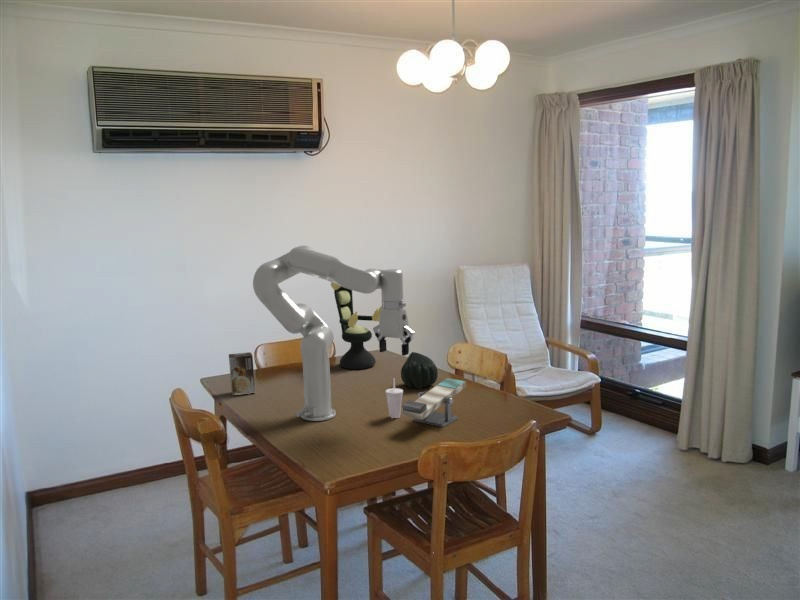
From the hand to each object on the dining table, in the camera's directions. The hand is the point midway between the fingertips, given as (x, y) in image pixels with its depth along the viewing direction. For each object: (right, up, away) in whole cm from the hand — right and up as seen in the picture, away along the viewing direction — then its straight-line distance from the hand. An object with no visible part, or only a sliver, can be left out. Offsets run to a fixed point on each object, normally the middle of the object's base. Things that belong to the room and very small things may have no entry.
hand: (394, 353), depth 233 cm
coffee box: (-62, -19, +36) cm, 74 cm away
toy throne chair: (-19, -12, +76) cm, 80 cm away
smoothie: (0, -23, +4) cm, 24 cm away
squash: (+10, -17, +41) cm, 45 cm away
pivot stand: (+15, -23, 0) cm, 28 cm away
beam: (+14, -16, -2) cm, 21 cm away
